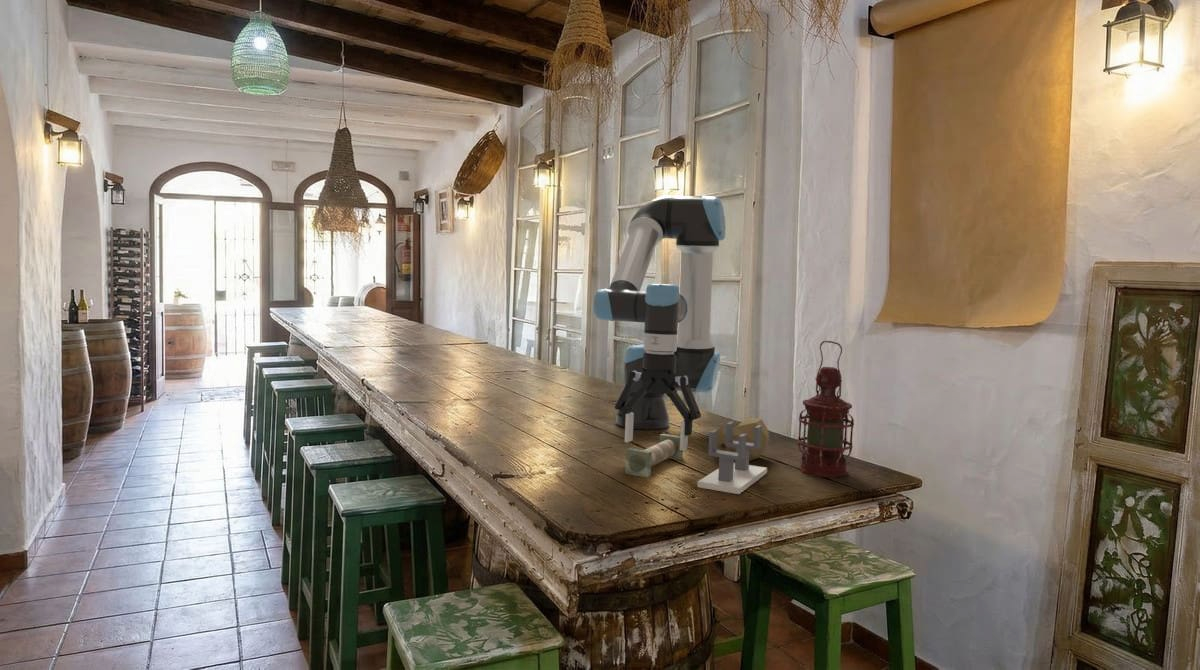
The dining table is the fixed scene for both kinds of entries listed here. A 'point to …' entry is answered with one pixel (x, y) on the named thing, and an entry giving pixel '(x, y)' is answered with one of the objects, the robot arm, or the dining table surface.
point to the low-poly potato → (748, 429)
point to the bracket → (730, 473)
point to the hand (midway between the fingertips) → (655, 445)
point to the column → (652, 455)
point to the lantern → (826, 426)
